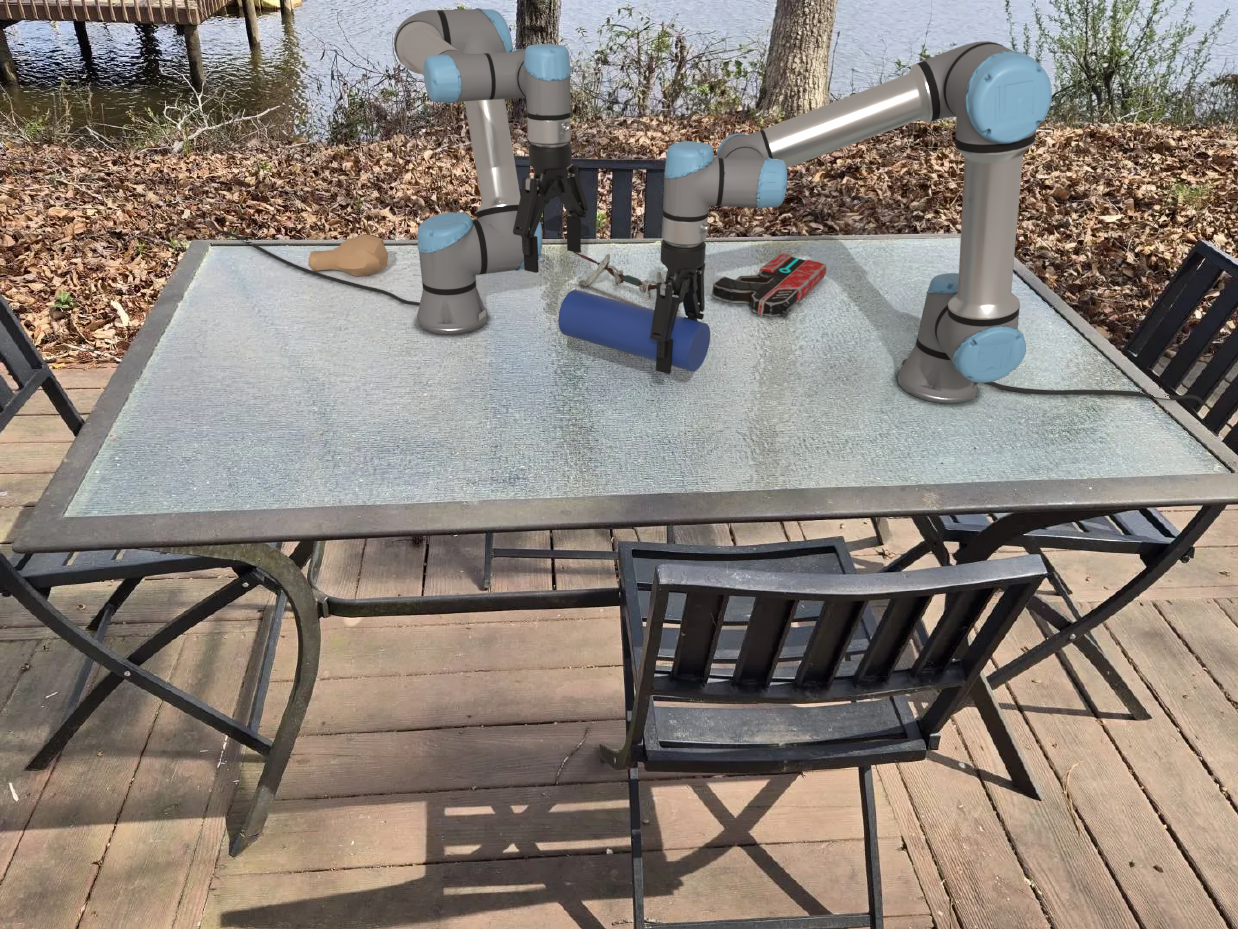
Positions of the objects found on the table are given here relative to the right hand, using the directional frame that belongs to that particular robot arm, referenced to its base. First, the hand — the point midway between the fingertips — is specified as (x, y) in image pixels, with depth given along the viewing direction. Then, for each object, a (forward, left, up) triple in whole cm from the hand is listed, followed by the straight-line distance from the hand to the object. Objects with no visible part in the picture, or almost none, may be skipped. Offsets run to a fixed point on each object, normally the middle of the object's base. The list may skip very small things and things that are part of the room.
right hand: (675, 361), depth 159 cm
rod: (+7, -7, -1) cm, 9 cm away
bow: (-6, -51, -11) cm, 53 cm away
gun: (-41, -53, -11) cm, 68 cm away
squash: (+59, -84, -11) cm, 103 cm away
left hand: (+19, -20, +13) cm, 30 cm away
